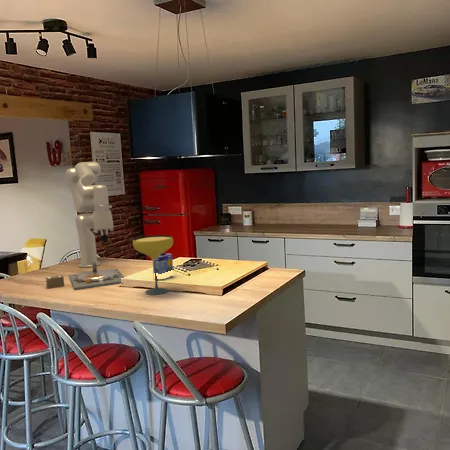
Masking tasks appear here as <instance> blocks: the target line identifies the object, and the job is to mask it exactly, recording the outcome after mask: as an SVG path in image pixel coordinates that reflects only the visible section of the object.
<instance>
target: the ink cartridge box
mask: <svg viewBox="0 0 450 450" xmlns="http://www.w3.org/2000/svg"><path fill="white" fill-rule="evenodd" d="M155 264H156V273H158V274H162V273H165V272H168V271H171V270H173V271H174V265H173V254H172V253H167V251H165V252H163V253H162V254H160V255H159V256H158V258H157V259H156V260H155ZM152 267H153V268H152V269H153V270H152V272H153V274H154V273H155V269H154V260H152Z"/></svg>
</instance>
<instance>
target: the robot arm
mask: <svg viewBox="0 0 450 450" xmlns="http://www.w3.org/2000/svg"><path fill="white" fill-rule="evenodd" d="M101 173H102V169H101V165H100V164H99V163H98V162H97V161H87V162H86V161H81V162H78V163H77V164H76V165H75V166H74V167H70V168H68V169H66V171H65V180H66V184H67V186H68V187H69V189H70V191H71V193H72V199H73V204H74V209H75V211H76V212H77V213H79V215H76V216H75V219H74V221H75V226H76V230H77V235H78V245H79V256H80V263H79V264H78V267H79V268H93V266H92V262H96V267H98V266H99V265H101V262H100V261H99V260H98V255H97V254H98V253H97V246H96V237H95V234H94V233H96V234H99V235H100V236H101V242H102V243H103V244H105V243H108V240H109V239H108V235H109V234H110V232H113V231H115V228H114V220H113V215H112V211H111V210H110V209H112V207H113V206H112V205H110V204H109V203H110V202H109V194H108V193H109V191H108V187H107V185H105V184H95V183H96V180H97V178H99V176H100V175H101ZM91 230H93V232H92V231H91ZM103 230H104V232H103Z"/></svg>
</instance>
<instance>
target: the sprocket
mask: <svg viewBox="0 0 450 450" xmlns="http://www.w3.org/2000/svg"><path fill="white" fill-rule="evenodd" d="M92 266H93V267H92V270H89V271H81V274H80V273H75V274H76V275H74V276H75V277H73V280H74V281H75V280H77V282H86V283H90V282H94V281H98V282H99V279H103V280H107V279H109V280H111V279H114V277H119V276H120V272H121V271H120V270H119V271H116V269H117V268H112V269H113V270H110V269H108V268H103V269H98V268H97V267H98V266H96V262H92Z"/></svg>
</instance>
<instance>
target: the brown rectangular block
mask: <svg viewBox="0 0 450 450" xmlns="http://www.w3.org/2000/svg"><path fill="white" fill-rule="evenodd" d="M64 279H65V278H64V276H63V275H62V274H60V275H59V274H58V275H54V276H53V275H52V276H47V277H45V284H46V289H47V290H51V289H56V288H62V287H65V280H64Z"/></svg>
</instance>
